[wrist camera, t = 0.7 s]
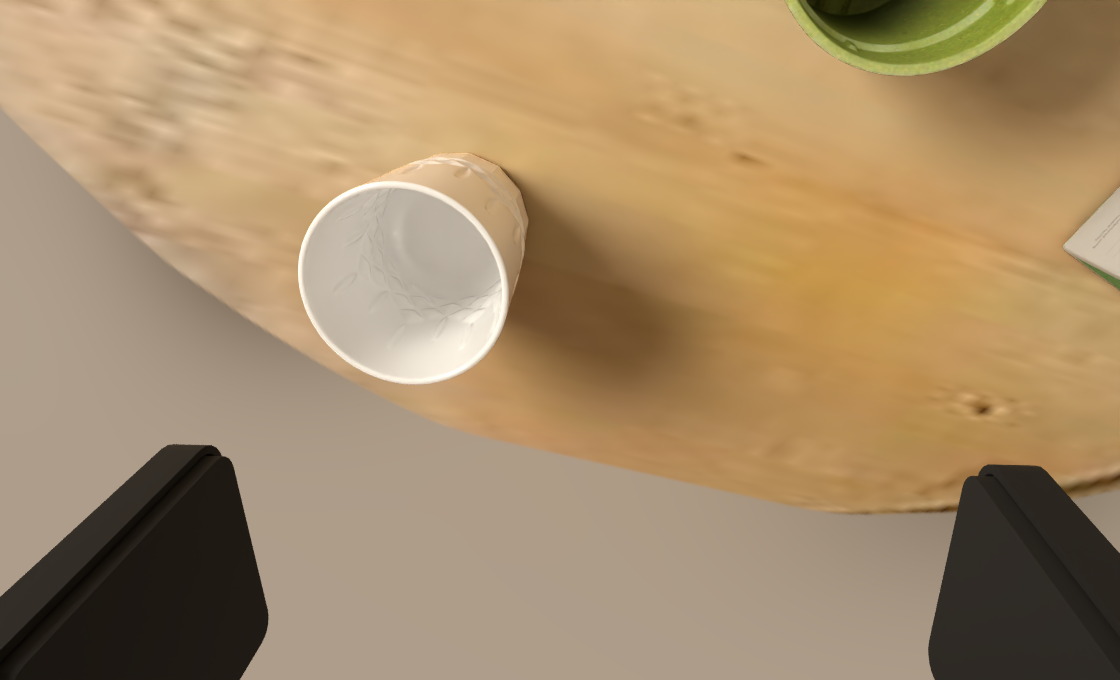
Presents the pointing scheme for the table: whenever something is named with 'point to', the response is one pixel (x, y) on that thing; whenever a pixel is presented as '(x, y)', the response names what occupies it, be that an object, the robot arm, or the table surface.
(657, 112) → the table surface
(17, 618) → the robot arm
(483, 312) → the white cup
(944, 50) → the plant pot
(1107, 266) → the skincare box
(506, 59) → the table surface
